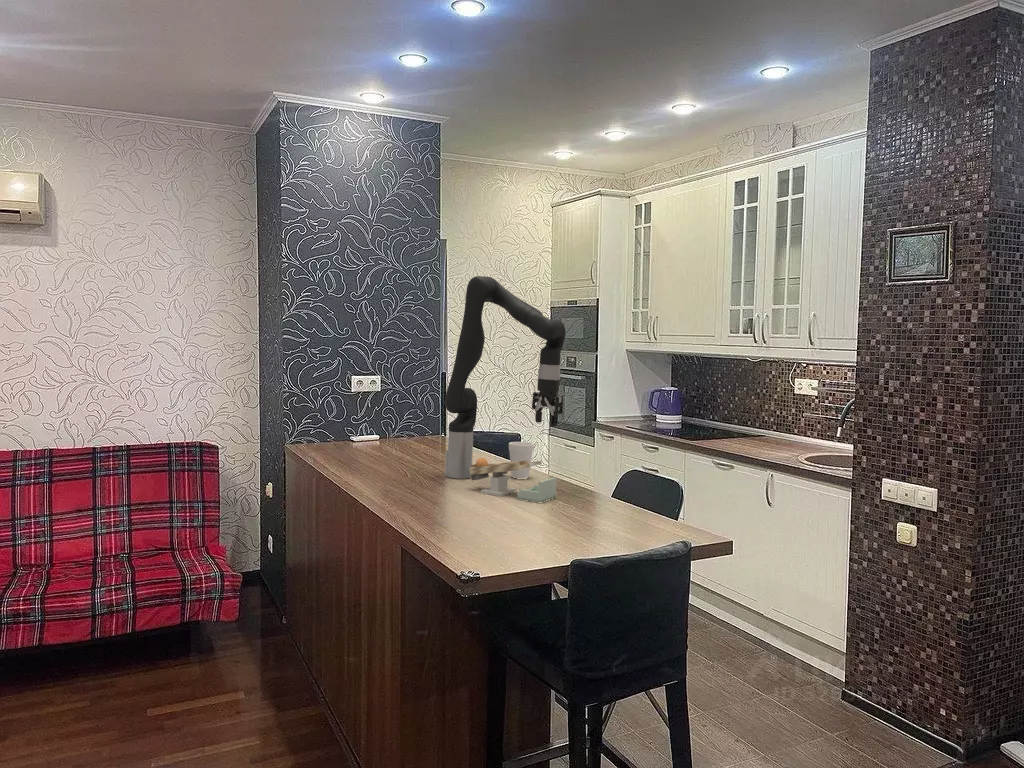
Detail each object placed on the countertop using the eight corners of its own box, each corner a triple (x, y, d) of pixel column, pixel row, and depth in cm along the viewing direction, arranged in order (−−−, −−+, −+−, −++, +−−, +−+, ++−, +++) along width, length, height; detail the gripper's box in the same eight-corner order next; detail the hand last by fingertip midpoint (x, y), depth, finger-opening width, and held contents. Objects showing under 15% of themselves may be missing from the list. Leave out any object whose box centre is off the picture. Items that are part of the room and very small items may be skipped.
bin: (517, 499, 260) (517, 478, 259) (532, 494, 268) (533, 474, 268) (540, 503, 255) (541, 482, 255) (555, 498, 264) (556, 477, 263)
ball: (474, 470, 272) (473, 458, 272) (480, 468, 276) (479, 457, 276) (483, 469, 270) (482, 458, 270) (490, 468, 274) (489, 456, 274)
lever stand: (480, 493, 268) (481, 476, 267) (496, 488, 276) (497, 472, 276) (500, 496, 263) (501, 480, 263) (516, 491, 272) (516, 475, 271)
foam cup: (518, 481, 290) (519, 446, 289) (502, 476, 297) (503, 442, 296) (537, 478, 296) (538, 444, 295) (521, 474, 303) (522, 441, 302)
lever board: (471, 480, 271) (469, 465, 272) (494, 474, 284) (493, 460, 284) (519, 476, 261) (517, 460, 261) (542, 470, 273) (540, 455, 274)
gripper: (527, 375, 274) (525, 421, 276) (553, 379, 263) (550, 427, 264) (544, 375, 279) (542, 420, 280) (570, 379, 267) (567, 427, 269)
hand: (546, 424), depth 272 cm, fingers open, 8 cm apart
